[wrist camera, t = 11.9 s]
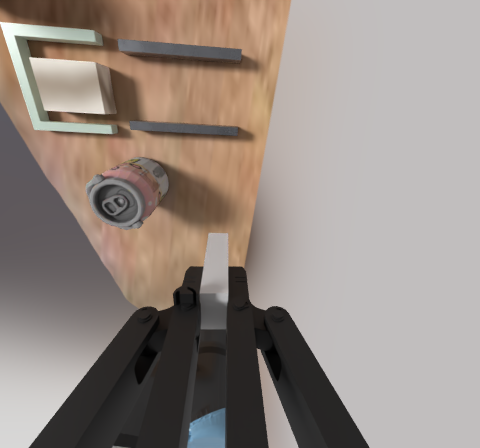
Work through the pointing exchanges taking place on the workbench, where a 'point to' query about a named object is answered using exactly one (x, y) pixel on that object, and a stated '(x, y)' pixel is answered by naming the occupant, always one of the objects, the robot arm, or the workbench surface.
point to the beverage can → (128, 192)
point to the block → (74, 86)
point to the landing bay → (20, 57)
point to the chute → (189, 54)
